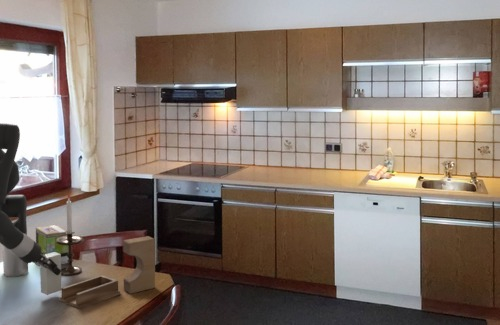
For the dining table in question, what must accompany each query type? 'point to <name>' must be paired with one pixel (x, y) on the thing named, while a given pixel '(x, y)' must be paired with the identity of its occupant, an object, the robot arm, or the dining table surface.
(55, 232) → the tea box
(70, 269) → the candlestick
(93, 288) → the tray
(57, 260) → the white rectangular block
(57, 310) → the dining table surface
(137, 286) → the decorative block
